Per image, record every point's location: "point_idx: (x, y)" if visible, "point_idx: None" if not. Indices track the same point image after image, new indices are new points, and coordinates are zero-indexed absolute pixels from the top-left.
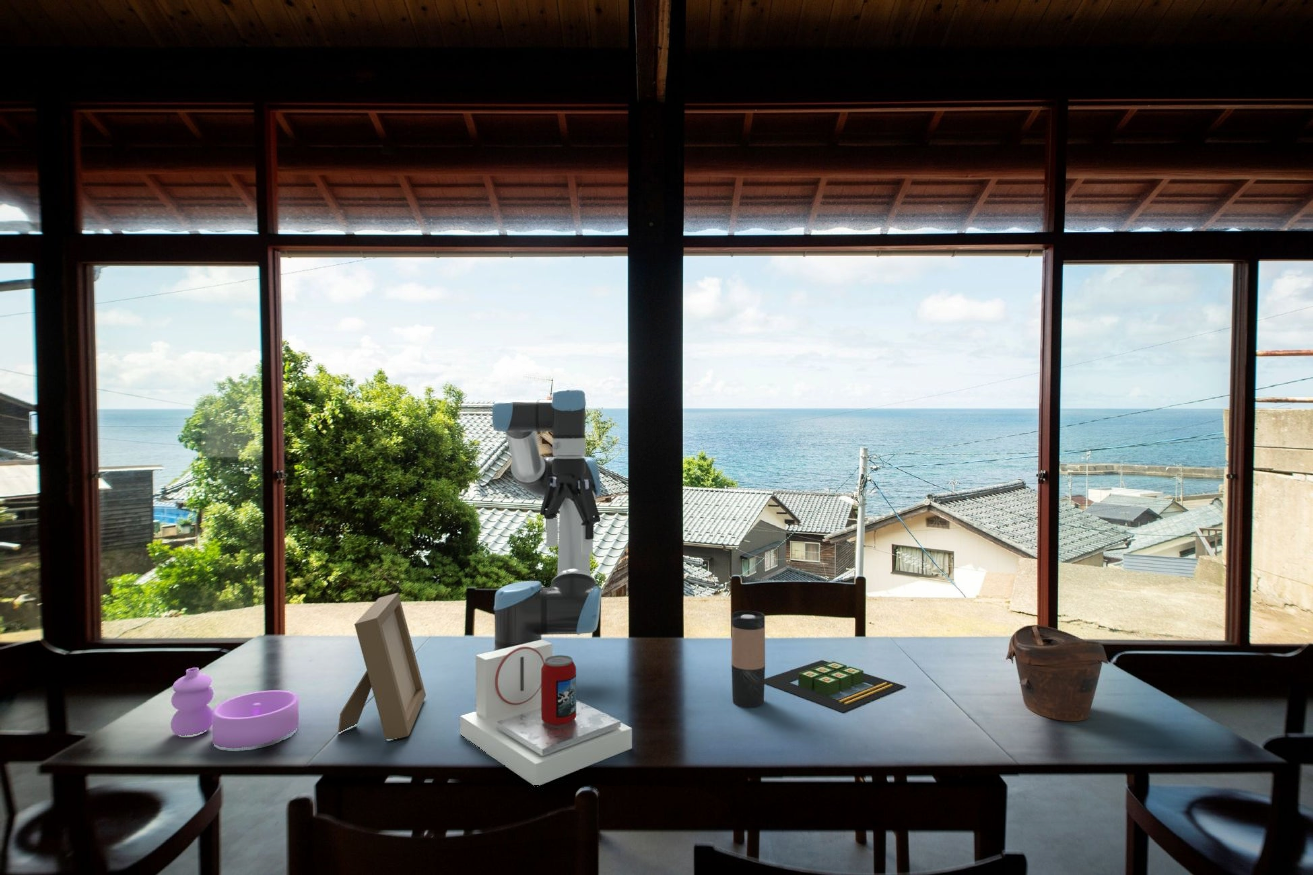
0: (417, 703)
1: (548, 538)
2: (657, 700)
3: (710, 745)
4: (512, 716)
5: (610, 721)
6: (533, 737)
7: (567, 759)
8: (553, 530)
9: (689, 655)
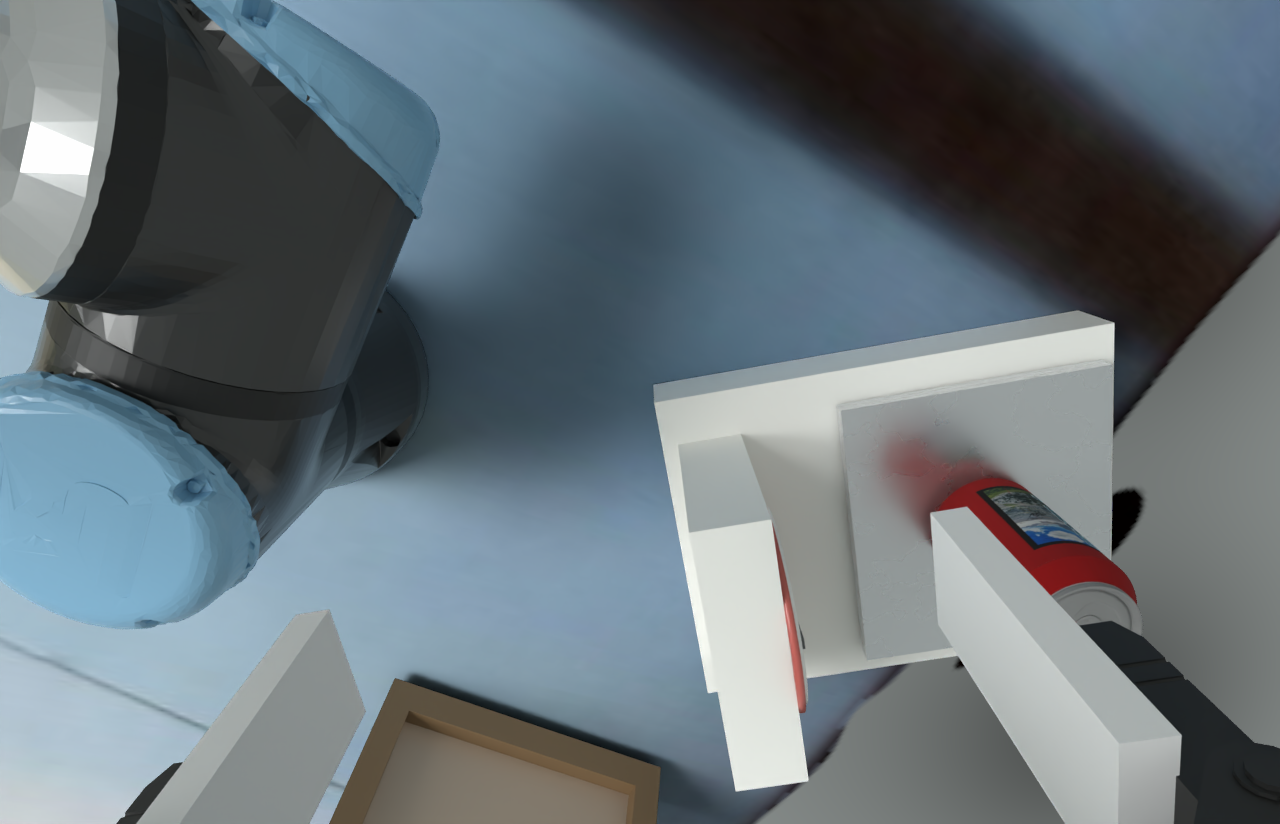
0: (503, 734)
1: (329, 777)
2: (820, 14)
3: (1240, 79)
4: (798, 582)
5: (1092, 393)
6: None
7: None
8: (266, 792)
9: None
